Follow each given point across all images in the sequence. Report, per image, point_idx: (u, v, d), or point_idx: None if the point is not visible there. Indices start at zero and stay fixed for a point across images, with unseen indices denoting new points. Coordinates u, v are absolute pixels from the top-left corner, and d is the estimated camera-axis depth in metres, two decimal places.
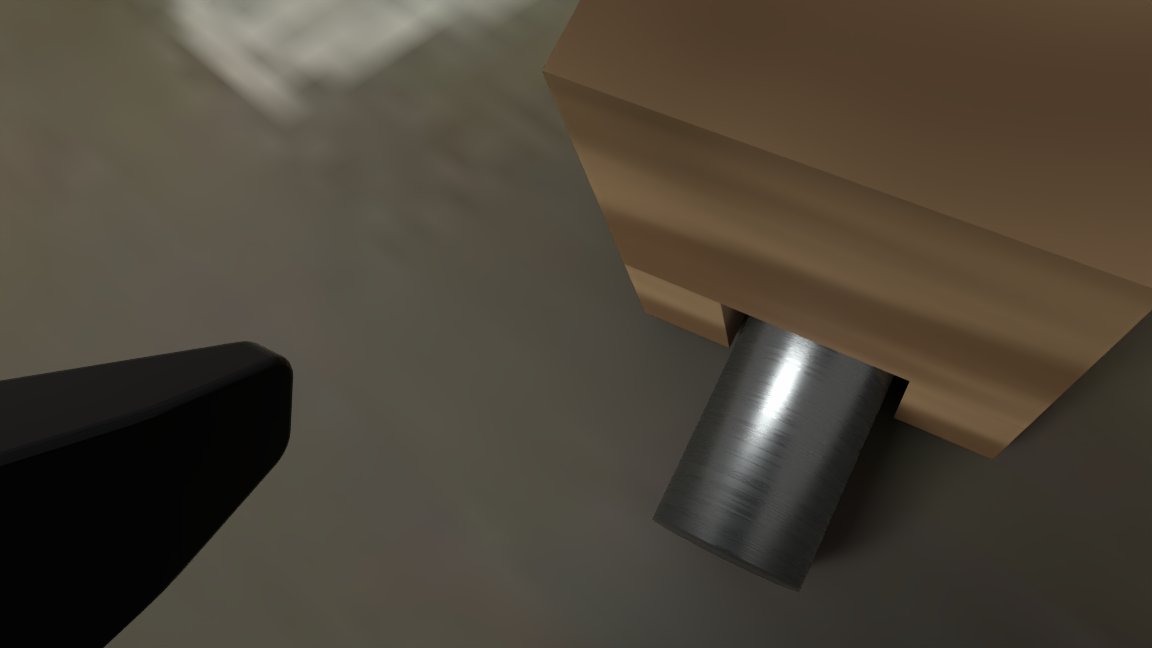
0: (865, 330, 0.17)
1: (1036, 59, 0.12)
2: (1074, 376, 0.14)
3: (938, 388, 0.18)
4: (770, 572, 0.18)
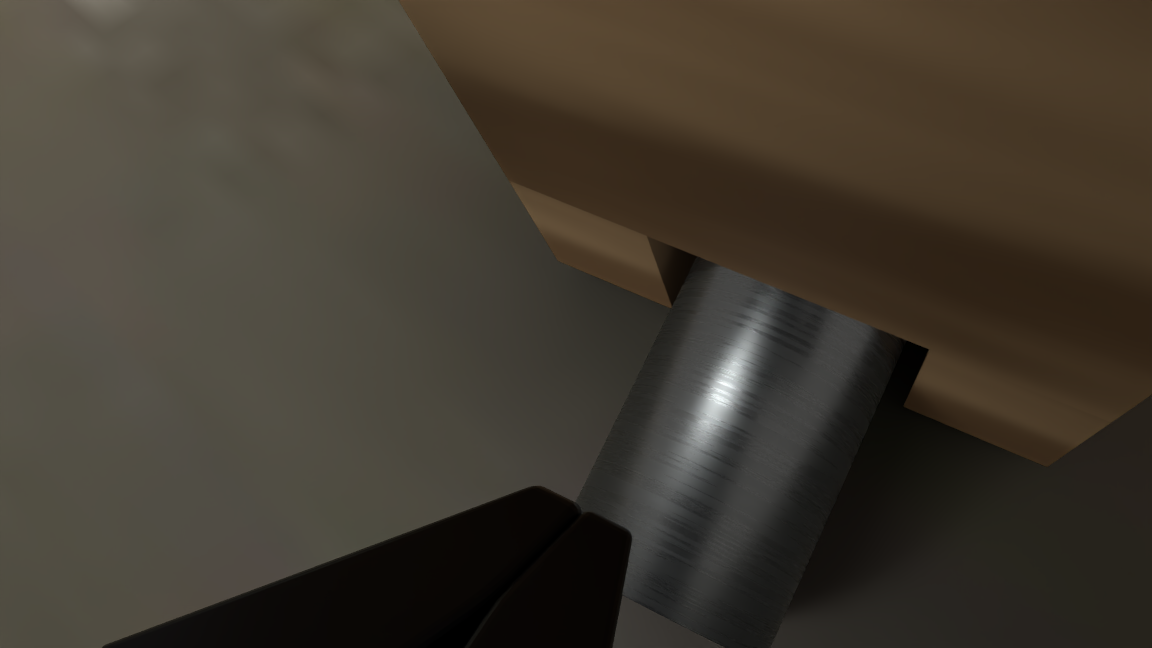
0: (860, 266, 0.10)
1: None
2: None
3: (975, 359, 0.11)
4: (716, 641, 0.12)
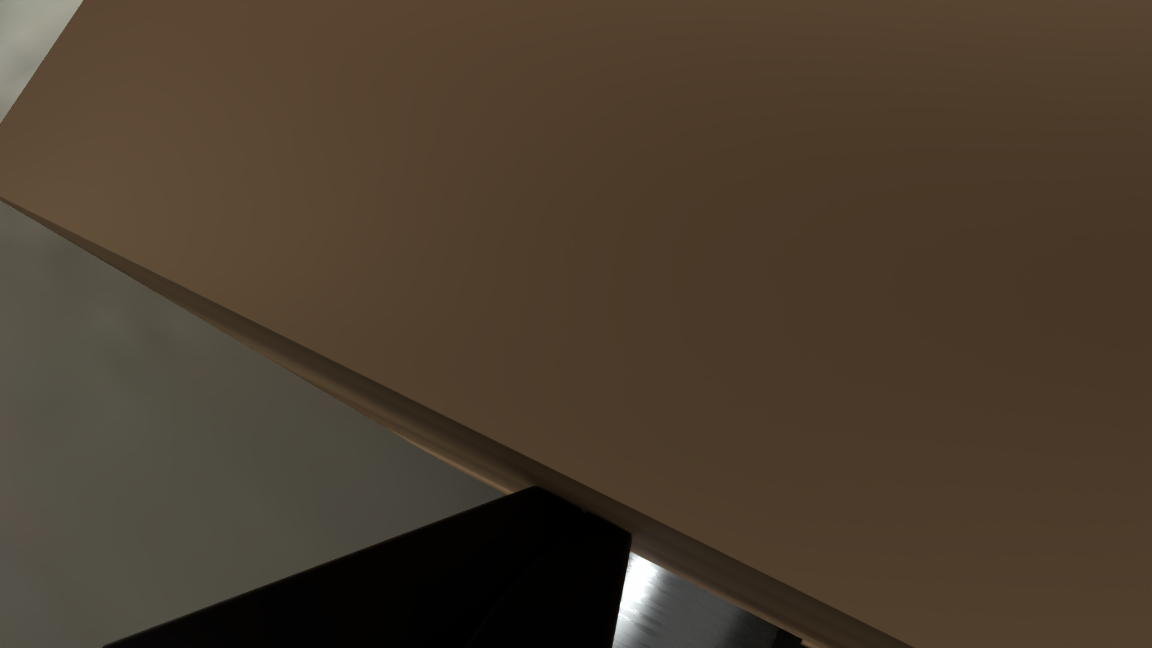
0: (715, 589, 0.10)
1: (981, 180, 0.05)
2: None
3: None
4: None
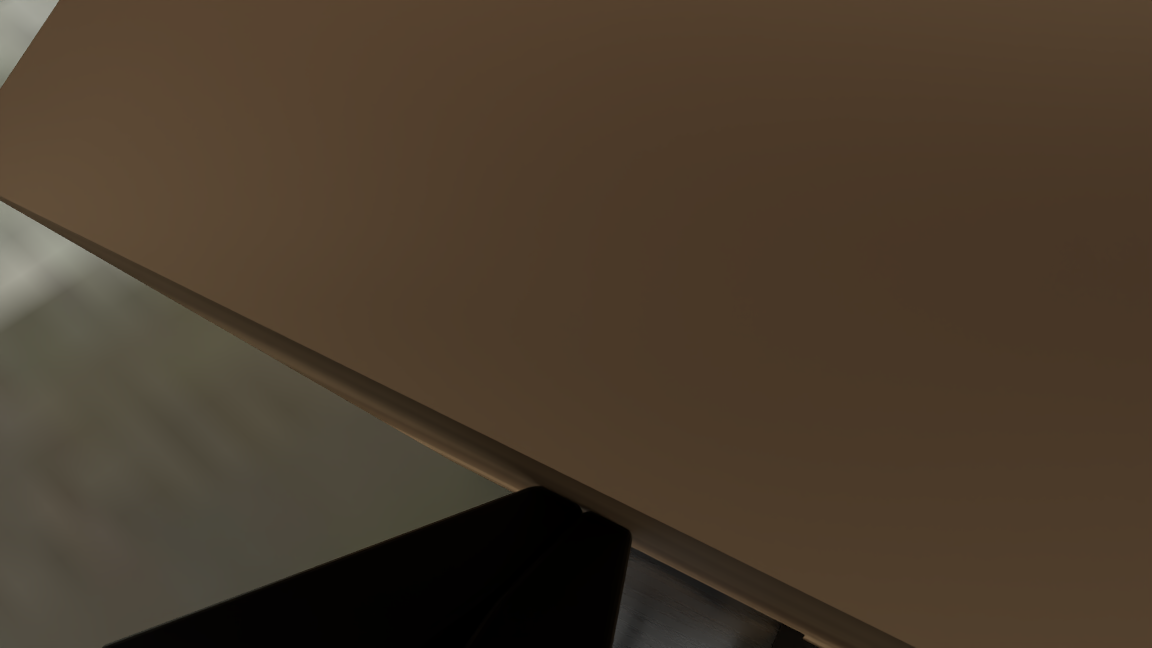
0: (716, 583, 0.10)
1: (984, 167, 0.05)
2: None
3: None
4: None
